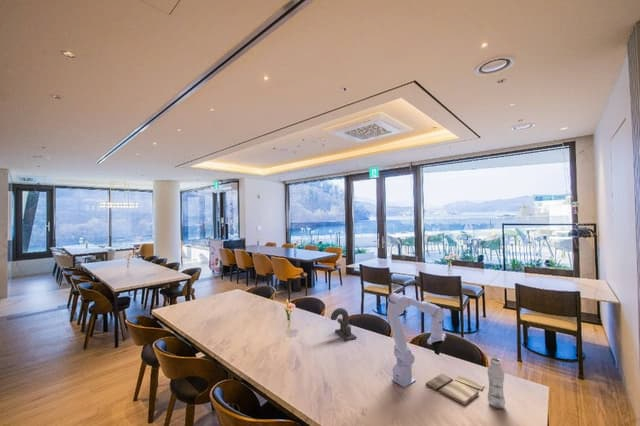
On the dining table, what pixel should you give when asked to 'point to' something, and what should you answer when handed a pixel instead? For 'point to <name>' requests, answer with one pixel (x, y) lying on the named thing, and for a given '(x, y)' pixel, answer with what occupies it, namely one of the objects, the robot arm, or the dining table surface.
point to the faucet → (343, 324)
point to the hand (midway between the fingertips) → (437, 353)
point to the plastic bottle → (496, 384)
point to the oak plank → (459, 392)
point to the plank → (470, 383)
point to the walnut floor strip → (439, 382)
